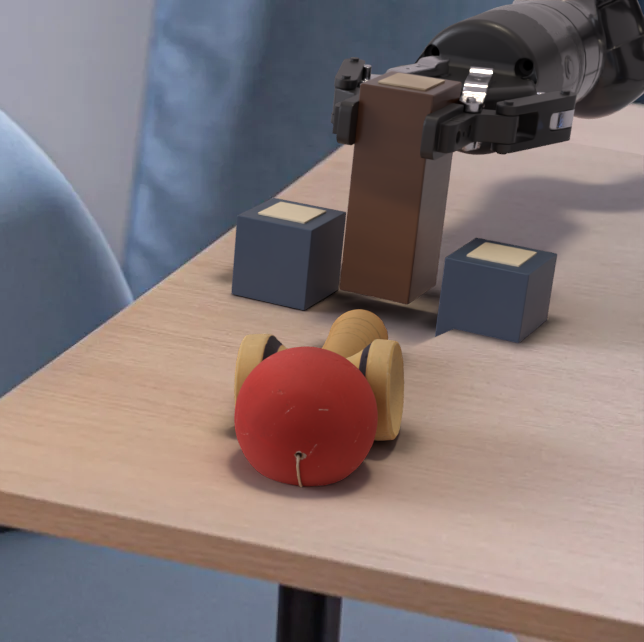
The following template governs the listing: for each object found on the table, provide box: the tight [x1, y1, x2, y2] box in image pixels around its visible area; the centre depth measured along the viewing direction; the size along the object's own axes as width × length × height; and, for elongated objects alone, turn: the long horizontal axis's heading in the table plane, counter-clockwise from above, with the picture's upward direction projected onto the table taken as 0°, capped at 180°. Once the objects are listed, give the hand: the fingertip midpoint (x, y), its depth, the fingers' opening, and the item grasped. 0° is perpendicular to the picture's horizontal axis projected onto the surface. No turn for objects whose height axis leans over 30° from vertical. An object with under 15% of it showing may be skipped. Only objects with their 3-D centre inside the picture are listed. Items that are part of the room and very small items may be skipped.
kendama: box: [233, 308, 405, 488], centre depth 80 cm, size 8×6×18 cm
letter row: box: [230, 197, 558, 344], centre depth 95 cm, size 16×4×5 cm, turn 59°
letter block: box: [339, 71, 462, 305], centre depth 93 cm, size 4×4×11 cm
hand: (385, 131), depth 89 cm, fingers closed on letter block, 4 cm apart
